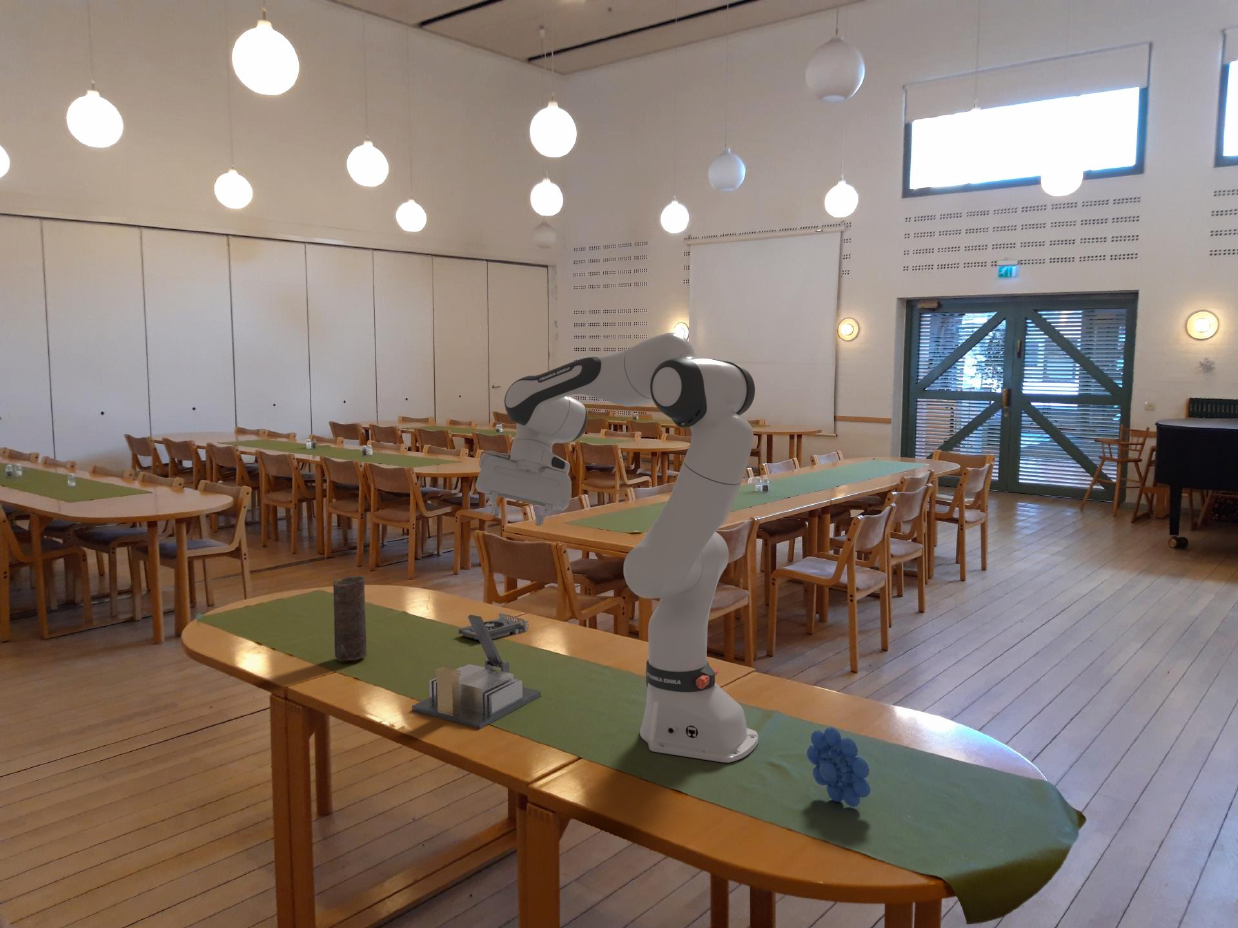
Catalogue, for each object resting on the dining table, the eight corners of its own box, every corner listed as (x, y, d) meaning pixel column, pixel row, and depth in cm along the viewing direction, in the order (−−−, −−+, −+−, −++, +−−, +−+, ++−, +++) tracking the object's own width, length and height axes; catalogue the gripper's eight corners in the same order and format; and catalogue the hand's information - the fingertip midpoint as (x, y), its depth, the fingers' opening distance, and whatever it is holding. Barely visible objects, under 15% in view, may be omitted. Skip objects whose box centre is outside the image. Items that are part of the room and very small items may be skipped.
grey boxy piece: (540, 695, 188) (540, 651, 187) (480, 728, 171) (479, 680, 170) (475, 680, 197) (475, 638, 196) (412, 710, 180) (410, 664, 179)
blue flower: (791, 797, 144) (792, 726, 142) (815, 783, 148) (817, 715, 147) (853, 824, 135) (855, 749, 134) (877, 809, 140) (879, 736, 138)
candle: (368, 662, 209) (365, 580, 207) (336, 666, 206) (333, 583, 204) (365, 653, 216) (362, 573, 214) (334, 656, 214) (330, 576, 211)
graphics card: (501, 611, 242) (529, 619, 234) (502, 624, 243) (529, 632, 234) (450, 624, 231) (476, 633, 222) (450, 638, 231) (477, 647, 222)
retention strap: (490, 666, 190) (493, 662, 190) (502, 669, 188) (505, 664, 189) (466, 617, 182) (470, 613, 183) (478, 620, 180) (482, 615, 181)
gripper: (484, 443, 186) (469, 504, 181) (577, 465, 189) (566, 526, 184) (480, 453, 191) (467, 513, 186) (571, 474, 195) (560, 534, 190)
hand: (517, 520), depth 185 cm, fingers open, 8 cm apart
